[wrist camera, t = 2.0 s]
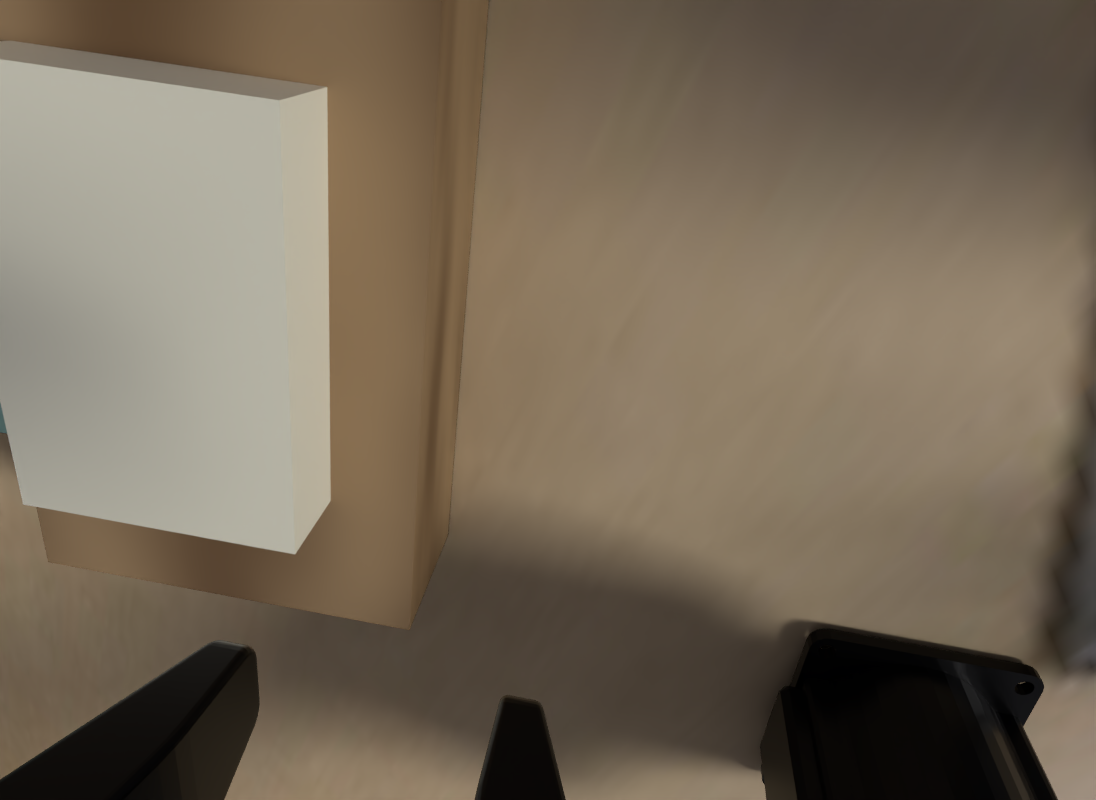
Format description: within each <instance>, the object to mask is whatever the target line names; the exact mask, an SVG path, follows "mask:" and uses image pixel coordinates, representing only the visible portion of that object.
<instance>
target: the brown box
mask: <svg viewBox="0 0 1096 800" xmlns="http://www.w3.org/2000/svg"><path fill="white" fill-rule="evenodd" d="M488 5H489V0H0V41H17V42H24V43H31V44H37V45H44V46H51V47H58V48H65V49H72V50H78V51H85V52H92V53H99V54H106V55H113V56H119V57H126V58H133V59H140V60H147V61H154V62H161V63H167V64H174V65H181V66H188V67H195V68H202V69H208V70H215V71H222V72H229V73H236V74H243V75H249V76H256V77H263V78H270V79H277V80H284V81H290V82H297V83H304V84H311V85H318V86H325V87H327V113H328V235H329V358H330V480H331V501H330V503H329V504H328V506H327V507H326V509H325V510H324V512H323V513H322V515H321V516H320V518H319V519H318V521H317V522H316V524H315V525H314V527H313V528H312V530H311V531H310V533H309V534H308V536H307V537H306V539H305V540H304V542H303V543H302V545H301V546H300V548H299V549H298V551H297V552H296V554H290V553H284V552H279V551H273V550H268V549H263V548H257V547H252V546H246V545H241V544H235V543H230V542H225V541H219V540H214V539H208V538H203V537H198V536H192V535H187V534H181V533H176V532H170V531H165V530H160V529H154V528H149V527H143V526H138V525H132V524H127V523H122V522H116V521H111V520H105V519H100V518H95V517H89V516H84V515H78V514H73V513H67V512H62V511H57V510H51V509H46V508H40V507H37V512H38V516H39V521H40V526H41V530H42V535H43V540H44V544H45V549H46V554H47V558H48V562H51V563H56V564H62V565H67V566H72V567H77V568H83V569H88V570H93V571H99V572H104V573H109V574H115V575H120V576H125V577H130V578H136V579H141V580H146V581H152V582H157V583H162V584H167V585H173V586H178V587H183V588H189V589H194V590H199V591H205V592H210V593H215V594H220V595H226V596H231V597H236V598H242V599H247V600H252V601H257V602H263V603H268V604H273V605H279V606H284V607H289V608H295V609H300V610H305V611H310V612H316V613H321V614H326V615H332V616H337V617H342V618H348V619H353V620H358V621H363V622H369V623H374V624H379V625H385V626H390V627H395V628H400V629H406V630H410V628H411V625H412V623H413V620H414V618H415V615H416V613H417V610H418V608H419V605H420V603H421V600H422V598H423V595H424V593H425V590H426V588H427V586H428V583H429V581H430V578H431V576H432V573H433V571H434V568H435V566H436V563H437V561H438V558H439V556H440V553H441V551H442V549H443V546H444V544H445V541H446V539H447V536H448V531H449V518H450V505H451V492H452V479H453V465H454V452H455V439H456V426H457V413H458V400H459V387H460V373H461V360H462V347H463V334H464V321H465V308H466V295H467V281H468V268H469V255H470V242H471V229H472V216H473V202H474V189H475V176H476V163H477V150H478V137H479V124H480V110H481V97H482V84H483V71H484V58H485V45H486V32H487V18H488Z"/></svg>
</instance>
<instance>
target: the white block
mask: <svg viewBox="0 0 1096 800" xmlns="http://www.w3.org/2000/svg"><path fill="white" fill-rule="evenodd" d="M0 403H1V407H2V412H3V416H4V421H5V425H6V430H7V434H8V439H9V443H10V447H11V452H12V456H13V461H14V465H15V470H16V474H17V479H18V483H19V488H20V492H21V497H22V501H23V504H24V505H29V506H35V507H40V508H46V509H51V510H57V511H62V512H67V513H73V514H78V515H84V516H89V517H95V518H100V519H105V520H111V521H116V522H122V523H127V524H132V525H138V526H143V527H149V528H154V529H160V530H165V531H170V532H176V533H181V534H187V535H192V536H198V537H203V538H208V539H214V540H219V541H225V542H230V543H235V544H241V545H246V546H252V547H257V548H263V549H268V550H273V551H279V552H284V553H290V554H296V552H297V551H298V549H299V548H300V546H301V545H302V543H303V542H304V540H305V539H306V537H307V536H308V534H309V533H310V531H311V530H312V528H313V527H314V525H315V524H316V522H317V521H318V519H319V518H320V516H321V515H322V513H323V512H324V510H325V509H326V507H327V506H328V504H329V503H330V501H331V480H330V358H329V235H328V113H327V87H325V86H318V85H311V84H304V83H297V82H290V81H284V80H277V79H270V78H263V77H256V76H249V75H243V74H236V73H229V72H222V71H215V70H208V69H202V68H195V67H188V66H181V65H174V64H167V63H161V62H154V61H147V60H140V59H133V58H126V57H119V56H113V55H106V54H99V53H92V52H85V51H78V50H72V49H65V48H58V47H51V46H44V45H37V44H31V43H24V42H17V41H0Z"/></svg>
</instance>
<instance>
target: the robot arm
mask: <svg viewBox="0 0 1096 800" xmlns="http://www.w3.org/2000/svg"><path fill="white" fill-rule="evenodd" d="M824 645H830V646H831V647H829V648H820V647H821V646H824ZM1021 682H1025V683H1022V684H1018V683H1021ZM1043 689H1044V685H1043V682H1042V680H1041V678H1040V676H1039V674H1038V672H1037V671H1036V670H1035V669H1034V668H1033V667H1031V666H1028V665H1024V664H1019V663H1013V662H1008V661H1002V660H997V659H991V658H986V657H981V656H975V655H970V654H964V653H959V652H953V651H948V650H942V649H937V648H931V647H926V646H920V645H915V644H909V643H904V642H898V641H893V640H887V639H882V638H876V637H871V636H866V635H860V634H855V633H849V632H844V631H838V630H833V629H819V630H815V631H814V632H812V633H811V634H810V635H809V636H808V638H807V640H806V643H805V646H804V649H803V651H802V654H801V657H800V660H799V662H798V665H797V668H796V671H795V674H794V676H793V679H792V682H791V685H790V686H785V687H784V688H783V689H781V690H780V691H779V693H778V696H777V699H776V702H775V704H774V707H773V710H772V713H771V716H770V719H769V721H768V724H767V727H766V730H765V733H764V736H763V738H762V741H761V745H760V750H761V758H762V765H761V774H762V781H763V783H764V785H765V791H766V799H767V800H1058V799H1057V796H1056V794H1055V792H1054V790H1053V788H1052V786H1051V784H1050V782H1049V780H1048V778H1047V776H1046V774H1045V771H1044V769H1043V767H1042V765H1041V763H1040V761H1039V759H1038V757H1037V755H1036V753H1035V751H1034V749H1033V747H1032V744H1031V742H1030V740H1029V738H1028V736H1027V734H1026V732H1025V730H1024V728H1023V726H1024V724H1025V722H1026V720H1027V719H1028V717H1029V715H1030V713H1031V712H1032V710H1033V708H1034V706H1035V704H1036V703H1037V701H1038V699H1039V697H1040V696H1041V694H1042V692H1043ZM258 711H259V686H258V672H257V658H256V653H255V651H254V649H253V648H252V647H250V646H248V645H243V644H237V643H232V642H227V641H220V640H218V641H213V642H211V643H208V644H207V645H205V646H203V647H202V648H200V649H199V650H197V651H196V652H194V653H193V654H191V655H190V656H188V657H187V658H185V659H184V660H182V661H181V662H179V663H178V664H176V665H174V666H173V667H171V668H170V669H168V670H167V671H165V672H164V673H162V674H161V675H159V676H158V677H156V678H155V679H153V680H152V681H150V682H148V683H147V684H145V685H144V686H142V687H141V688H139V689H138V690H136V691H135V692H133V693H132V694H130V695H129V696H127V697H126V698H124V699H123V700H121V701H119V702H118V703H116V704H115V705H113V706H112V707H110V708H109V709H107V710H106V711H104V712H103V713H101V714H100V715H98V716H97V717H95V718H94V719H92V720H90V721H89V722H87V723H86V724H84V725H83V726H81V727H80V728H78V729H77V730H75V731H74V732H72V733H71V734H69V735H68V736H66V737H65V738H63V739H61V740H60V741H58V742H57V743H55V744H54V745H52V746H51V747H49V748H48V749H46V750H45V751H43V752H42V753H40V754H39V755H37V756H36V757H34V758H32V759H31V760H29V761H28V762H26V763H25V764H23V765H22V766H20V767H19V768H17V769H16V770H14V771H13V772H11V773H10V774H8V775H7V776H5V777H3V778H2V779H0V800H224V799H225V796H226V794H227V792H228V789H229V787H230V784H231V782H232V779H233V777H234V775H235V772H236V770H237V767H238V765H239V762H240V760H241V758H242V755H243V753H244V750H245V748H246V745H247V743H248V741H249V738H250V736H251V733H252V731H253V728H254V726H255V723H256V720H257V716H258ZM475 800H566V799H565V795H564V791H563V787H562V783H561V779H560V775H559V771H558V767H557V763H556V759H555V754H554V750H553V746H552V742H551V738H550V734H549V730H548V726H547V722H546V718H545V714H544V710H543V707H542V705H541V704H540V703H539V702H538V701H536V700H531V699H526V698H521V697H515V696H510V695H506V696H504V697H502V698H501V700H500V703H499V706H498V710H497V713H496V717H495V721H494V725H493V729H492V733H491V737H490V741H489V744H488V748H487V752H486V756H485V760H484V764H483V768H482V771H481V775H480V779H479V783H478V787H477V791H476V796H475Z"/></svg>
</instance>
